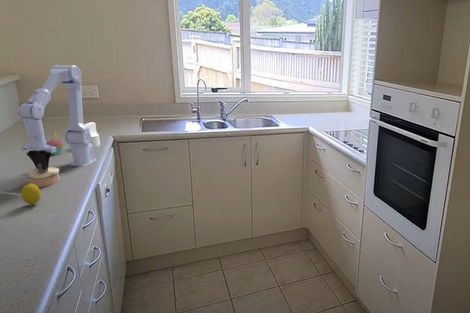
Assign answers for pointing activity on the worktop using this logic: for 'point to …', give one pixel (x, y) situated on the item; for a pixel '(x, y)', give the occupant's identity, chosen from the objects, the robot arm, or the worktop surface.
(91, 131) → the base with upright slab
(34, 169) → the mat
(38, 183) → the bowl
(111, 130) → the worktop surface
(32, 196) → the lemon
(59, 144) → the cupcake
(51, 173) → the lid
